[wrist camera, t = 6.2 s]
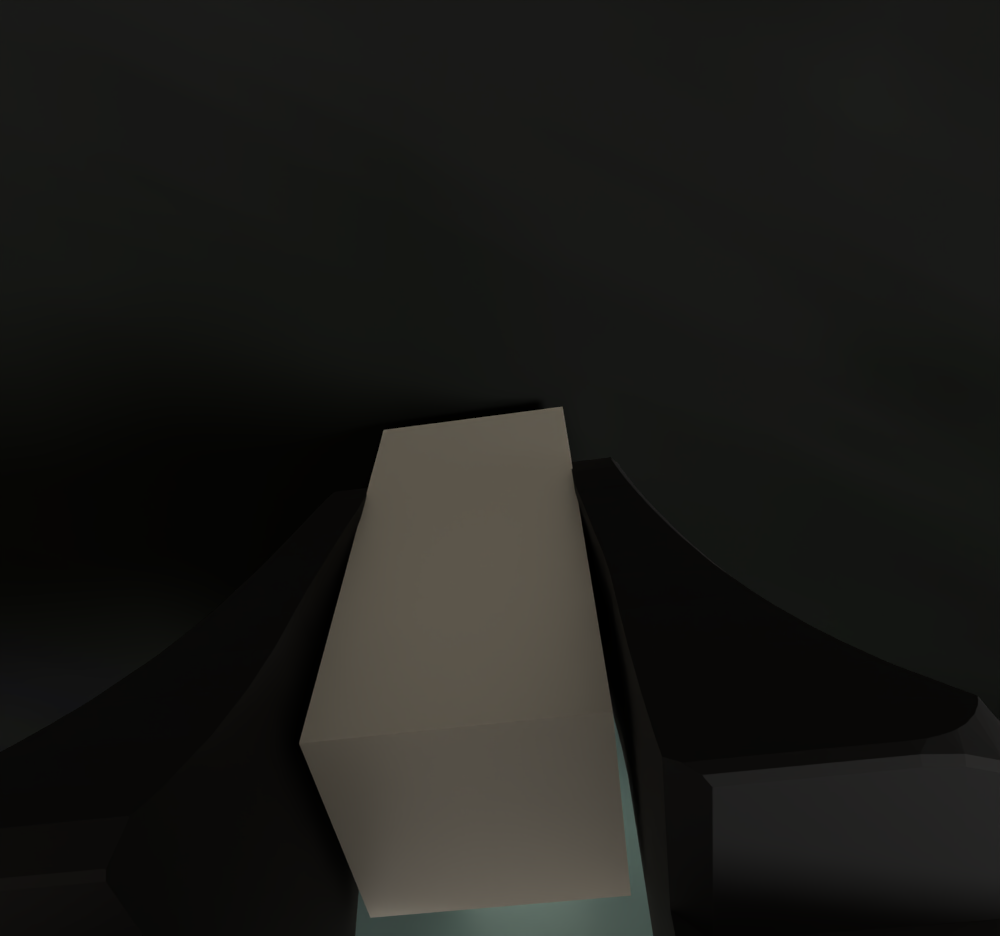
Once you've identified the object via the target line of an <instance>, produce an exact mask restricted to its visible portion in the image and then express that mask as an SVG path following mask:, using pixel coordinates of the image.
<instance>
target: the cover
mask: <svg viewBox="0 0 1000 936" xmlns="http://www.w3.org/2000/svg"><path fill="white" fill-rule="evenodd" d="M571 469H573V467H572V461H571V455H570V449H569V443H568V437H567V431H566V425H565V419H564V413H563V407H556V408H548V409H541V410H533V411H525V412H518V413H510V414H502V415H495V416H487V417H479V418H472V419H464V420H456V421H449V422H441V423H433V424H426V425H418V426H410V427H402V428H395V429H387V430H384V431H383V434H382V438H381V442H380V445H379V449H378V453H377V456H376V460H375V464H374V468H373V471H372V475H371V479H370V482H369V486H368V490H367V493H366V494H367V497H366V501H365V504H364V508H363V512H362V516H361V519H360V522H359V524H358V527H357V530H356V534H355V538H354V542H353V545H352V549H351V553H350V556H349V560H348V564H347V567H346V571H345V575H344V579H343V582H342V586H341V590H340V593H339V597H338V601H337V604H336V608H335V612H334V616H333V619H332V623H331V627H330V630H329V634H328V638H327V642H326V645H325V649H324V653H323V656H322V660H321V664H320V667H319V671H318V675H317V679H316V682H315V686H314V690H313V693H312V697H311V701H310V704H309V708H308V712H307V716H306V719H305V723H304V727H303V730H302V734H301V738H300V741H299V745H300V747H301V750H302V752H303V754H304V757H305V759H306V762H307V764H308V767H309V769H310V772H311V774H312V776H313V779H314V781H315V784H316V786H317V789H318V791H319V794H320V796H321V798H322V801H323V803H324V806H325V808H326V811H327V813H328V816H329V818H330V820H331V823H332V825H333V828H334V830H335V833H336V835H337V838H338V840H339V842H340V845H341V847H342V850H343V852H344V855H345V857H346V860H347V862H348V864H349V867H350V869H351V872H352V874H353V877H354V879H355V882H356V884H357V886H358V889H359V895H358V908H357V921H356V934H355V936H653V932H652V926H651V919H650V913H649V906H648V900H647V893H646V887H645V881H644V874H643V868H642V862H641V855H640V849H639V842H638V836H637V830H636V824H635V817H634V811H633V805H632V798H631V792H630V786H629V780H628V774H627V770H626V765H625V760H624V756H623V751H622V747H621V743H620V739H619V735H618V731H617V728H616V724H615V720H614V716H613V710H612V704H611V698H610V692H609V686H608V680H607V673H606V667H605V661H604V655H603V649H602V643H601V637H600V631H599V625H598V619H597V613H596V607H595V601H594V595H593V589H592V582H591V576H590V570H589V564H588V558H587V552H586V546H585V540H584V534H583V528H582V522H581V516H580V510H579V504H578V500H577V497H576V494H575V488H574V482H573V476H572V470H571Z"/></svg>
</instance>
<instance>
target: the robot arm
mask: <svg viewBox="0 0 1000 936" xmlns="http://www.w3.org/2000/svg"><path fill="white" fill-rule="evenodd" d="M572 467H573V469H571V470H572V476H573V482H574V488H575V494H576V497H577V500H578V504H579V510H580V516H581V522H582V528H583V534H584V540H585V546H586V552H587V558H588V564H589V570H590V576H591V582H592V589H593V595H594V601H595V607H596V613H597V619H598V625H599V631H600V637H601V643H602V649H603V655H604V661H605V667H606V673H607V680H608V686H609V692H610V698H611V704H612V710H613V716H614V720H615V724H616V728H617V731H618V735H619V739H620V743H621V747H622V751H623V756H624V760H625V765H626V770H627V774H628V780H629V786H630V792H631V798H632V805H633V811H634V817H635V824H636V830H637V836H638V842H639V849H640V855H641V862H642V868H643V874H644V881H645V887H646V893H647V900H648V906H649V913H650V919H651V926H652V932H653V936H1000V721H999V720H998V719H997V718H996V717H995V716H994V715H993V714H992V712H991V711H990V710H989V709H988V708H987V707H986V705H985V704H984V703H983V702H982V700H981V699H980V698H979V697H978V696H976V695H974V694H971V693H968V692H966V691H963V690H960V689H958V688H955V687H952V686H950V685H947V684H944V683H942V682H939V681H936V680H933V679H931V678H928V677H925V676H923V675H920V674H917V673H915V672H912V671H909V670H907V669H904V668H901V667H899V666H896V665H893V664H891V663H889V662H886V661H884V660H882V659H879V658H877V657H875V656H873V655H871V654H868V653H866V652H864V651H862V650H860V649H857V648H855V647H853V646H851V645H849V644H846V643H844V642H842V641H840V640H838V639H836V638H834V637H832V636H830V635H828V634H826V633H824V632H822V631H820V630H818V629H816V628H814V627H812V626H810V625H808V624H807V623H805V622H803V621H801V620H800V619H798V618H796V617H794V616H793V615H791V614H789V613H787V612H786V611H784V610H782V609H780V608H779V607H777V606H775V605H773V604H772V603H770V602H769V601H767V600H765V599H764V598H762V597H761V596H759V595H757V594H756V593H754V592H753V591H751V590H750V589H748V588H747V587H745V586H744V585H743V584H741V583H740V582H738V581H737V580H736V579H734V578H733V577H731V576H730V575H729V574H727V573H726V572H725V571H724V570H722V569H721V568H720V567H718V566H717V565H716V564H715V563H713V562H712V561H711V560H710V559H709V558H707V557H706V556H705V555H704V554H703V553H702V552H700V551H699V550H698V549H697V548H696V547H695V546H693V545H692V544H691V543H690V542H689V541H688V540H687V539H686V538H685V537H683V536H682V535H681V534H680V533H679V532H678V531H677V530H676V529H675V528H674V527H673V526H672V525H671V524H670V523H669V522H668V521H667V520H666V519H665V518H664V517H663V516H662V515H661V514H660V513H659V512H658V511H657V510H656V509H655V508H654V507H653V506H652V505H651V504H650V502H649V501H648V500H647V499H646V498H645V497H644V496H643V495H642V493H641V492H640V491H639V490H638V489H637V488H636V486H635V485H634V484H633V483H632V482H631V480H630V479H629V478H628V477H627V475H626V474H625V473H624V471H623V470H622V468H621V467H620V465H619V464H618V463H617V462H616V461H614V460H613V459H612V458H611V457H609V458H601V459H593V460H585V461H577V462H572ZM367 490H368V488H361V489H353V490H345V491H337V492H333V493H332V494H331V495H330V496H329V497H328V498H327V499H326V500H325V501H324V502H323V503H322V504H321V505H320V506H319V507H318V508H317V509H316V510H315V511H314V512H313V513H312V514H311V515H310V516H309V517H308V519H307V520H306V521H305V522H304V523H303V524H302V525H301V526H300V527H299V528H298V529H297V530H296V531H295V532H294V533H293V534H292V535H291V536H290V537H289V538H288V540H287V541H286V542H285V543H284V544H283V545H282V546H281V547H280V548H279V549H278V550H277V551H276V552H275V553H274V554H273V555H272V556H271V557H270V558H269V559H268V560H267V561H266V562H265V563H264V564H263V565H262V566H261V567H260V568H259V569H258V570H257V571H256V572H255V573H254V574H253V575H252V576H250V577H249V578H248V579H247V580H246V581H245V582H244V583H243V584H242V585H241V586H240V587H239V588H238V589H237V590H235V591H234V592H233V593H232V594H231V595H230V596H229V597H228V598H227V599H226V600H225V601H224V602H223V603H222V604H220V605H219V606H218V607H217V608H216V609H215V610H214V611H213V612H211V613H210V614H209V615H208V616H207V617H206V618H204V619H203V620H202V621H201V622H200V623H198V624H197V625H196V626H195V627H193V628H192V629H191V630H190V631H188V632H187V633H186V634H185V635H183V636H182V637H181V638H179V639H178V640H177V641H176V642H174V643H173V644H172V645H170V646H169V647H168V648H166V649H165V650H164V651H163V652H161V653H160V654H159V655H157V656H156V657H154V658H153V659H152V660H150V661H149V662H147V663H146V664H144V665H143V666H141V667H140V668H138V669H137V670H135V671H134V672H132V673H131V674H129V675H128V676H126V677H125V678H123V679H122V680H121V681H119V682H118V683H116V684H115V685H113V686H112V687H110V688H109V689H107V690H106V691H104V692H103V693H101V694H100V695H98V696H97V697H95V698H94V699H92V700H91V701H89V702H87V703H86V704H84V705H82V706H81V707H79V708H77V709H76V710H74V711H72V712H71V713H69V714H67V715H66V716H64V717H62V718H61V719H59V720H57V721H56V722H54V723H52V724H50V725H49V726H47V727H45V728H43V729H42V730H40V731H38V732H36V733H34V734H33V735H31V736H29V737H27V738H25V739H24V740H22V741H20V742H18V743H16V744H15V745H13V746H11V747H9V748H7V749H5V750H3V751H1V752H0V936H355V934H356V921H357V908H358V895H359V889H358V886H357V884H356V882H355V879H354V877H353V874H352V872H351V869H350V867H349V864H348V862H347V860H346V857H345V855H344V852H343V850H342V847H341V845H340V842H339V840H338V838H337V835H336V833H335V830H334V828H333V825H332V823H331V820H330V818H329V816H328V813H327V811H326V808H325V806H324V803H323V801H322V798H321V796H320V794H319V791H318V789H317V786H316V784H315V781H314V779H313V776H312V774H311V772H310V769H309V767H308V764H307V762H306V759H305V757H304V754H303V752H302V750H301V747H300V745H299V741H300V738H301V734H302V730H303V727H304V723H305V719H306V716H307V712H308V708H309V704H310V701H311V697H312V693H313V690H314V686H315V682H316V679H317V675H318V671H319V667H320V664H321V660H322V656H323V653H324V649H325V645H326V642H327V638H328V634H329V630H330V627H331V623H332V619H333V616H334V612H335V608H336V604H337V601H338V597H339V593H340V590H341V586H342V582H343V579H344V575H345V571H346V567H347V564H348V560H349V556H350V553H351V549H352V545H353V542H354V538H355V534H356V530H357V527H358V524H359V522H360V519H361V516H362V512H363V508H364V504H365V501H366V497H367V494H366V493H367Z"/></svg>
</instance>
